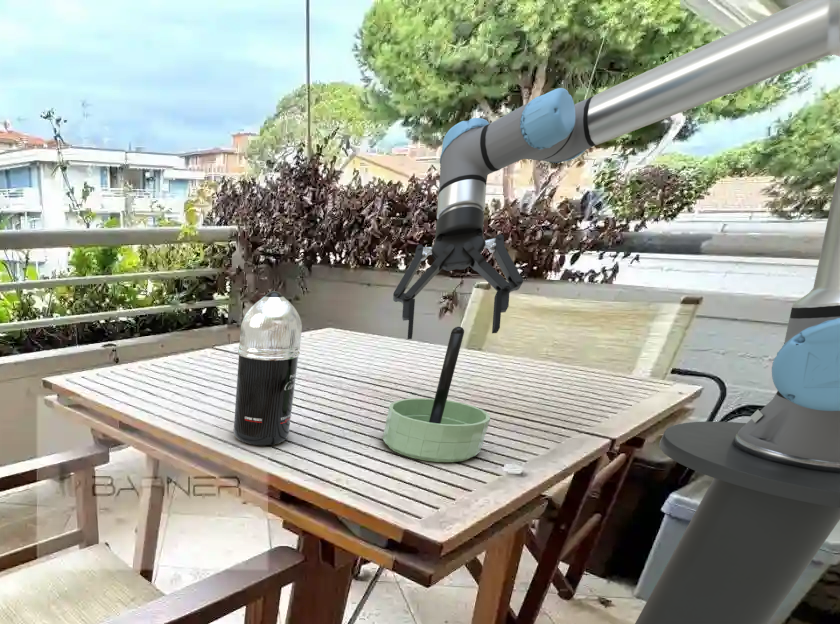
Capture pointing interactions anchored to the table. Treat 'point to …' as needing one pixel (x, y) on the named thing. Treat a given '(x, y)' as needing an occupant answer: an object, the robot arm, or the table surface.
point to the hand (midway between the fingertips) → (451, 334)
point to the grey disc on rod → (446, 374)
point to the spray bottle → (267, 371)
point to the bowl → (435, 430)
